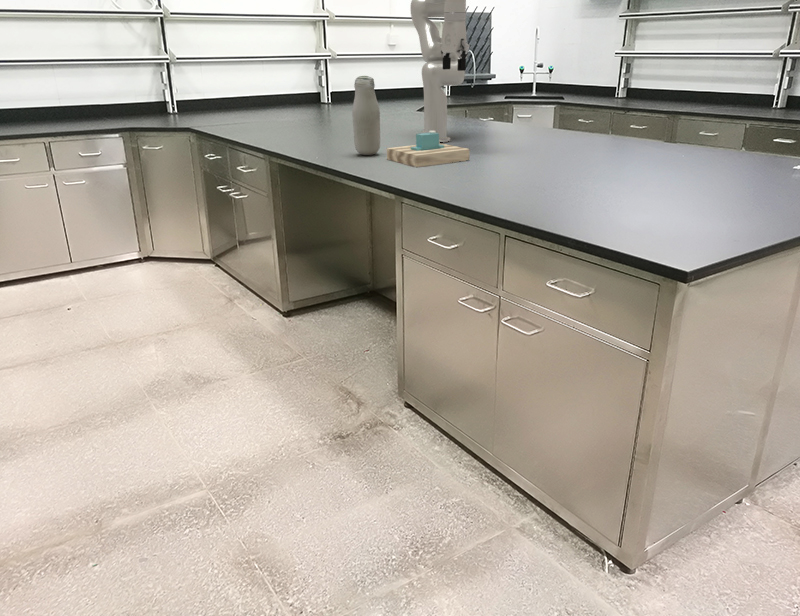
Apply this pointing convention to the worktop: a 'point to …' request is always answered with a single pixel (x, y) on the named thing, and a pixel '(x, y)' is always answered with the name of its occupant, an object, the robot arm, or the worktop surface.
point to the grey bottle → (366, 117)
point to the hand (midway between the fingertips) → (453, 69)
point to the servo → (427, 141)
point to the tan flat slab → (427, 155)
